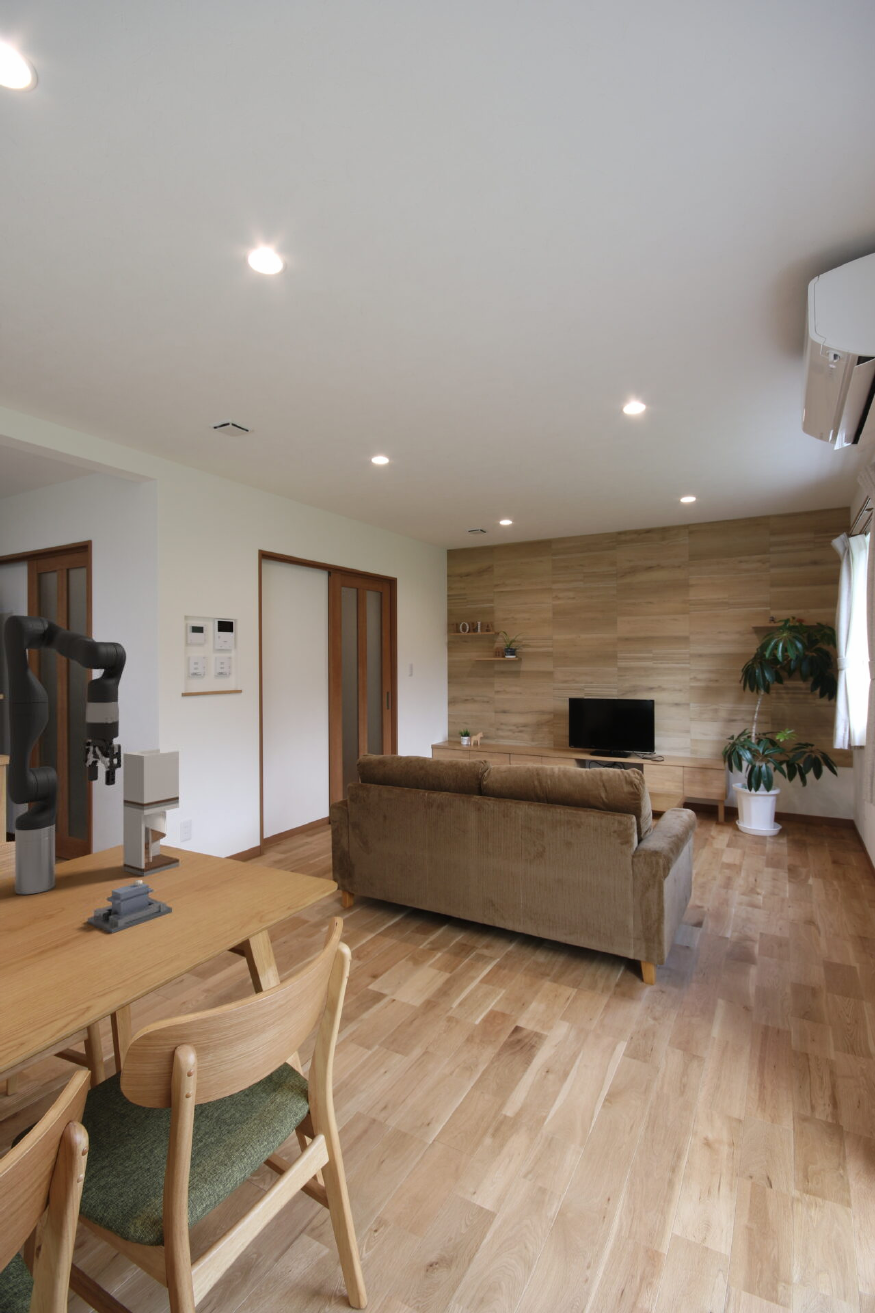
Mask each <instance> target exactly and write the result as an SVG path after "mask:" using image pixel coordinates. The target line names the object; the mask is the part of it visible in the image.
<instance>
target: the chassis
mask: <svg viewBox="0 0 875 1313" xmlns="http://www.w3.org/2000/svg"><path fill="white" fill-rule="evenodd" d="M111 912H112V904H110V905H107V906H105V907H98V908H96V909H94V910H93V916H91V917H88V918H87V924H89V925H92V926H94V927H96V928H99V929H101V930H104V931H105V932H107V933H110V934H114V933H117V932H120V931H123V930H125V929H128V928H131V927H133V926H136V925H139V924H142V923H145V922H148V921H150V920H154V919H156V918H159V917H162V916H165V915H167V914H168V915H169V914H170V913H172V912H173V907H171V906H168V905H167V903H165V902H163V901H159V900H158V899H154V898H152V897H149V906H146V907H143V908H140V909H137V910H134V911H131V912H128V913H126V914H123V915H120V916H119V915H116V914H115V915H112V916H111Z"/></svg>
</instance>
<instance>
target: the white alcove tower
mask: <svg viewBox="0 0 875 1313" xmlns="http://www.w3.org/2000/svg"><path fill="white" fill-rule="evenodd" d="M122 762H123V763H122V764H123V770H122V771H123V773H122V774H123V782H122V783H123V785H122V786H123V788H122V789H123V792H122V793H123V794H122V795H123V798H122V799H123V808H122V810H123V832H122V833H123V835H122V836H123V842H122V843H123V850H122V851H123V853H122V855H123V864H122V865H123V871H125V872H127V873H131V874H135V875H138V876H142V877H147V876H150V875H153V874H156V873H157V874H158V873H161V872H164V871H166V870H169V869H172V868H176V867H180V858H176V857H173V856H169V855H165V854H161V840H162V839H164V838H165V837H167V811H169V810H174V809H178V808H180V751H179V750H175V751H168V752H161V749H160V748H156V749H148V750H139V751H131V752H124V753H123V761H122Z"/></svg>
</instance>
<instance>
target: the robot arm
mask: <svg viewBox="0 0 875 1313" xmlns="http://www.w3.org/2000/svg"><path fill="white" fill-rule="evenodd" d="M3 643H4V651H5V659H6V667H7V679H8V680H7V682H8V704H7V705H8V722H9V723H8V724H9V756H8V757H9V758H8V759H9V760H8V771H7V792H8V797H9V800H10V801H11V802H12V803H13V804H15V805H25V804H31V803H33V805H32V806H31V807H30V808H29V809H28V810H27V811H25V812H23V813H22V814H20V815H18V816H17V817H16V819H15V822H14V828H15V830H14V835H15V836H14V848H15V849H14V858H15V859H14V860H15V861H14V866H15V868H14V870H15V871H14V873H15V874H14V892H15V894H18V895H32V894H33V895H34V894H37V893H38V894H39V893H43V892H46V891H49V890H51V889H53V888H54V887H55V886H56V884H55V883H56V879H55V878H56V874H55V873H56V831H55V830H56V816H57V813H58V799H59V798H58V797H59V778H58V777H59V776H58V774H57V772H56V770H55V769H54V767H52V766H46V765H45V766H40V767H31V768H30V763H31V762H30V761H31V755H32V752H33V748H34V746H35V745H36V743H37V742H38V739H39V738H40V737H41V735H42V733H43V731H44V730H45V728H46V726H47V724H48V723H49V717H50V716H49V714H50V713H49V697H48V693H47V691H46V690H45V687H44V686H43V685H42V683H41V682H40V681H39V680H38V678H37V676H36V675H35V674H34V672H33V671H32V669H31V667H30V664H29V660H28V653H27V650H41V649H42V650H43V649H48V650H49V649H53V650H55V651H56V653H57V654H59V655H60V656H62V657H64V658H66V659H68V660H72V661H75V662H77V664H79V665H80V666H81V667H82V668H85V669H89V670H103V672H102V674H101V676H100V677H97V678H93V679H90V680H89V681H88V683H87V693H86V701H87V702H86V708H85V738H86V740H84V741H83V752H82V762H83V764H86V767H87V781H89V782H95V781H98V779H99V766H98V765H99V764H100V763H101V764H103V766H104V769H105V771H104V772H105V773H104V775H105V776H104V784H105V785H104V786H115V784H116V770H117V769H120V768H121V767H122V745H121V744H120V743H119V744H118V743H117V744H114V739H116V738H118V737H119V736H120V735H119V734H120V733H119V732H120V731H119V730H120V728H119V727H120V718H119V717H120V708H119V685H120V683H121V680H122V676H123V672H124V668H125V665H126V662H127V652H126V650H125V648H124V646H123V645H122V644H121V643H119V642H112V641H111V642H110V641H96V640H95V639H94V638H92V637H91V636H88V635H84V634H81V633H77V632H74V631H70V630H68V629H65V628H64V627H61V626H60V625H58V624H56V623H55V622H53V621H52V620H50V619H47V618H46V617H42V616H35V615H34V616H32V615H31V616H30V615H18V614H15V615H13V614H12V615H10V616H8V617H7V619H6V620H5V621H4V626H3Z"/></svg>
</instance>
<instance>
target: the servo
mask: <svg viewBox="0 0 875 1313" xmlns="http://www.w3.org/2000/svg"><path fill="white" fill-rule="evenodd" d="M153 892H154V889H153V888H151V887H150V886H149V884H146V883H144V882H143V880H142V879H137V880H134V882H133V883H132V884H128V885H125V886H121V887H118V888H115V889H112V890H111V895H110V896H109V897H106V901H107V902H109V903H111V905H112V912H111V916H112V915H115V914H116V915H119V916H120V915H123V914H126V913H128V912H131V911H134V910H137V909H140V908H143V907H146V906H149V898H150V894H151V893H153Z"/></svg>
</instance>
